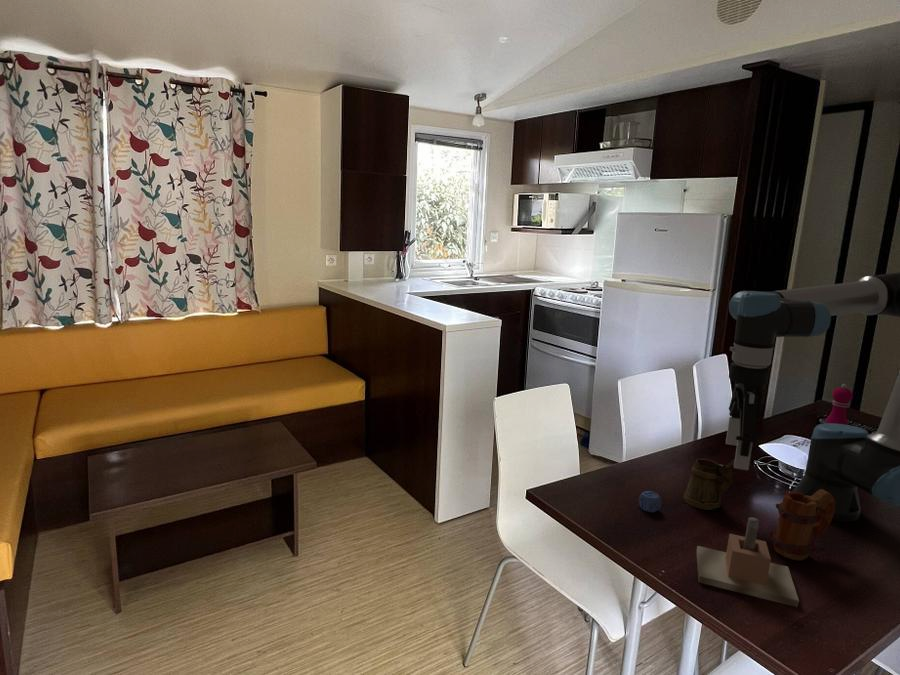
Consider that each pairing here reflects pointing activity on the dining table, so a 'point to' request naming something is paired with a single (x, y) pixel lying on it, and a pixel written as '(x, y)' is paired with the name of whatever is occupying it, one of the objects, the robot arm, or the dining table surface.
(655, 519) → the dining table surface
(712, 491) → the wooden mug
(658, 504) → the decorative dice
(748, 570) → the bead
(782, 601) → the peg stand
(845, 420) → the pepper mill
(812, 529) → the mug
